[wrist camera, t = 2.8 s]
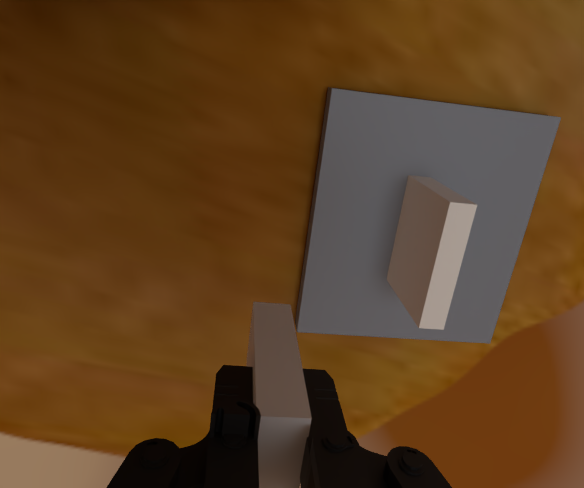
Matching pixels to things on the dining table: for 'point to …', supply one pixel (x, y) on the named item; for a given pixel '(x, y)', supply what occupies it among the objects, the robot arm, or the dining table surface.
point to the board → (388, 202)
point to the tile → (429, 249)
